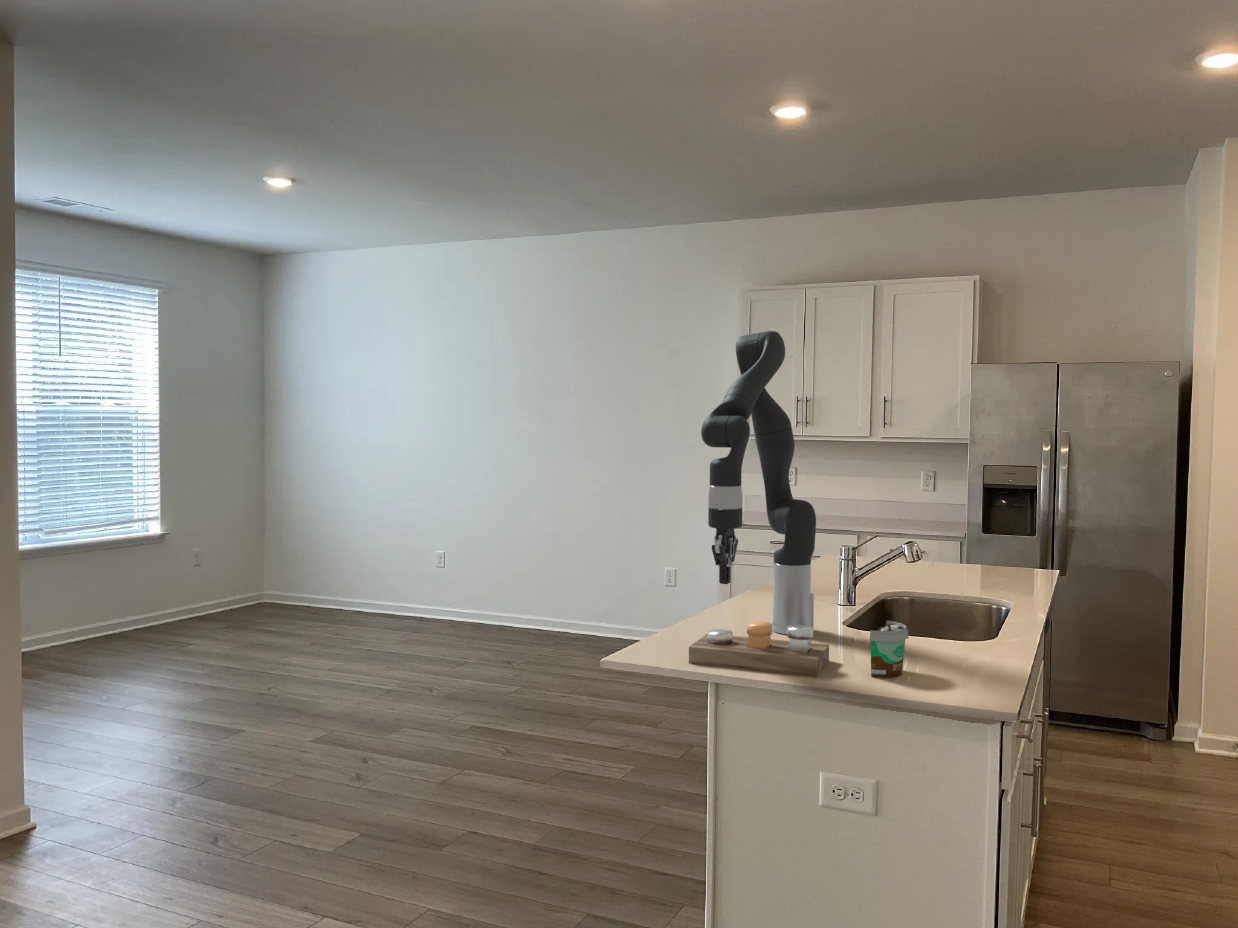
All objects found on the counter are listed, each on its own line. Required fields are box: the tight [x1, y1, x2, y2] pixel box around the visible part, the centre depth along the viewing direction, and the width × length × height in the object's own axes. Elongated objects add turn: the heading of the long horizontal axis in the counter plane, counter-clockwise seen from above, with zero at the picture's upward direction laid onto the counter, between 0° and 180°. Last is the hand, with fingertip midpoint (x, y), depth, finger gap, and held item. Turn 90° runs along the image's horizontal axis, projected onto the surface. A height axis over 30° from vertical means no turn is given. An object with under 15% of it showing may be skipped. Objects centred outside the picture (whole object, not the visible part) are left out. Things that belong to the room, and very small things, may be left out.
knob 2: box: [786, 625, 814, 653], centre depth 212 cm, size 6×6×5 cm
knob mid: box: [746, 620, 773, 649], centre depth 215 cm, size 6×6×5 cm
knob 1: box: [706, 628, 734, 645], centre depth 219 cm, size 6×6×5 cm
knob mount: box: [688, 633, 830, 677], centre depth 215 cm, size 14×28×4 cm, turn 68°
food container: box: [869, 620, 910, 679], centre depth 206 cm, size 12×6×10 cm, turn 148°
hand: (724, 583), depth 218 cm, fingers closed
